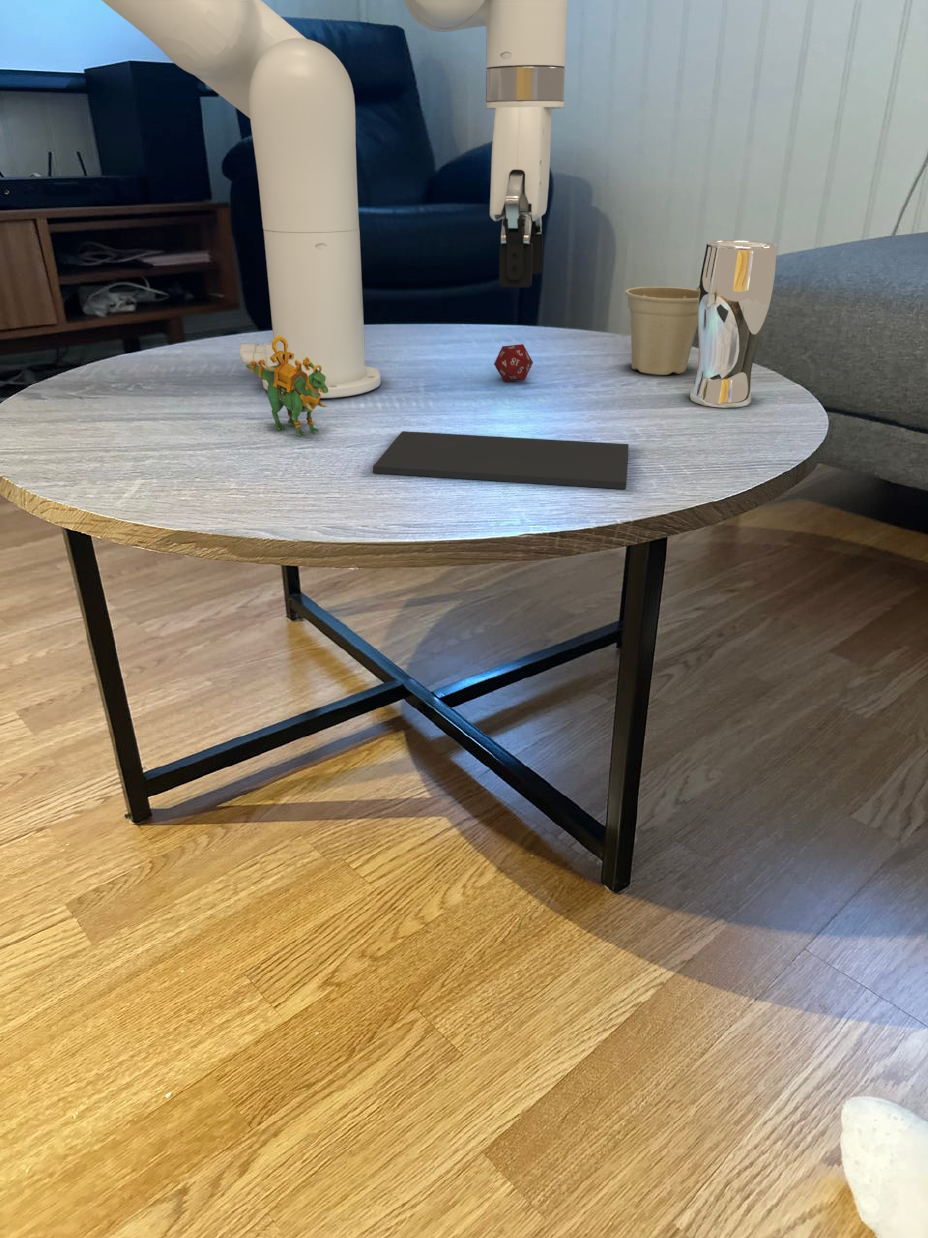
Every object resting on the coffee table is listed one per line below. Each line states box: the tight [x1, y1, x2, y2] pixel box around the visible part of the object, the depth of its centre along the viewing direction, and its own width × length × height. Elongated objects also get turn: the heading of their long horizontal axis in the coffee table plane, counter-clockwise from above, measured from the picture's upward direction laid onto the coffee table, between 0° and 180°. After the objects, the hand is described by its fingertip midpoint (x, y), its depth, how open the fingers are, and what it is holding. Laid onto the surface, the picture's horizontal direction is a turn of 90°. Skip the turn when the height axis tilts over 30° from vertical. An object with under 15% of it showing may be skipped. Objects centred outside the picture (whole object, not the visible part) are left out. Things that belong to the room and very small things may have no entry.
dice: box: [493, 343, 534, 383], centre depth 99 cm, size 4×4×4 cm
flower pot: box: [624, 286, 699, 376], centre depth 103 cm, size 9×9×9 cm
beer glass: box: [689, 239, 778, 409], centre depth 90 cm, size 7×7×15 cm
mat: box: [372, 430, 630, 490], centre depth 75 cm, size 20×10×1 cm, turn 80°
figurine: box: [244, 336, 329, 437], centre depth 82 cm, size 3×12×8 cm, turn 46°
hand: (521, 279), depth 95 cm, fingers open, 9 cm apart
